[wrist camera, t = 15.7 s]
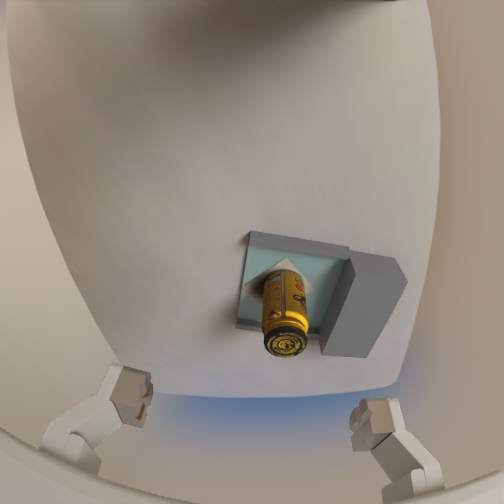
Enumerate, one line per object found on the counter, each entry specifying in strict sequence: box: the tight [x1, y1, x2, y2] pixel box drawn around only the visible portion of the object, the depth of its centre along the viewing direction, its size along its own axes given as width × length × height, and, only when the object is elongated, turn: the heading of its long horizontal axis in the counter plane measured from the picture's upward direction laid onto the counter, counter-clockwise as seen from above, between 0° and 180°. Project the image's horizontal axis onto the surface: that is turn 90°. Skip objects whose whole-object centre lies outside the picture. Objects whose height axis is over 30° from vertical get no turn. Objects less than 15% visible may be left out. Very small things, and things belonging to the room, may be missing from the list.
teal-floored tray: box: [236, 231, 408, 358], centre depth 44 cm, size 17×22×6 cm
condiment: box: [242, 258, 315, 357], centre depth 41 cm, size 7×8×12 cm
